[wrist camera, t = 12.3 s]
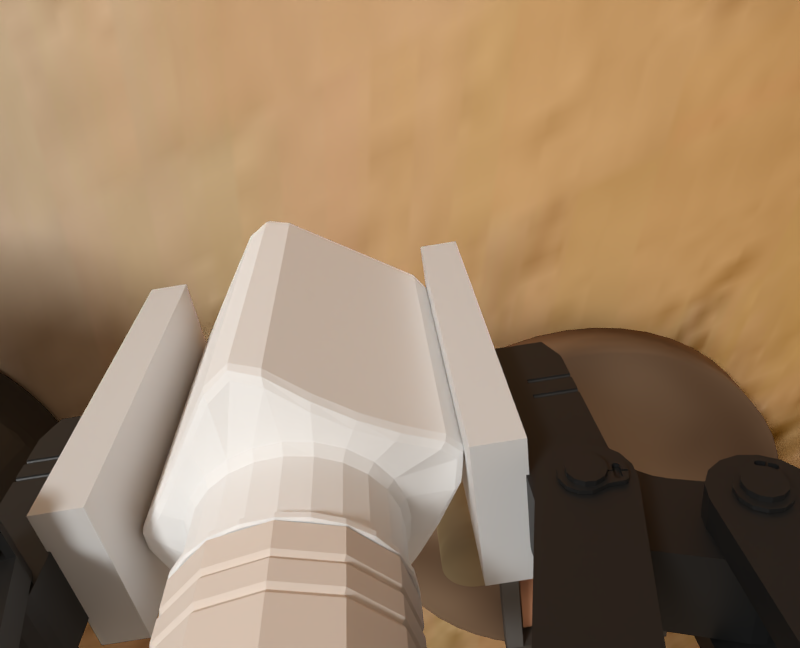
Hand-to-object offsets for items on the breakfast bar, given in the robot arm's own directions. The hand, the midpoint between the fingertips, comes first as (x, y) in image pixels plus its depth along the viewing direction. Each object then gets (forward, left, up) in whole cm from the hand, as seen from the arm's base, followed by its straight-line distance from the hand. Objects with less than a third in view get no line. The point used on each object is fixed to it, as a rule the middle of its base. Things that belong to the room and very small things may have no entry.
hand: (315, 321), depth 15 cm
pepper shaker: (0, 0, -1) cm, 1 cm away
